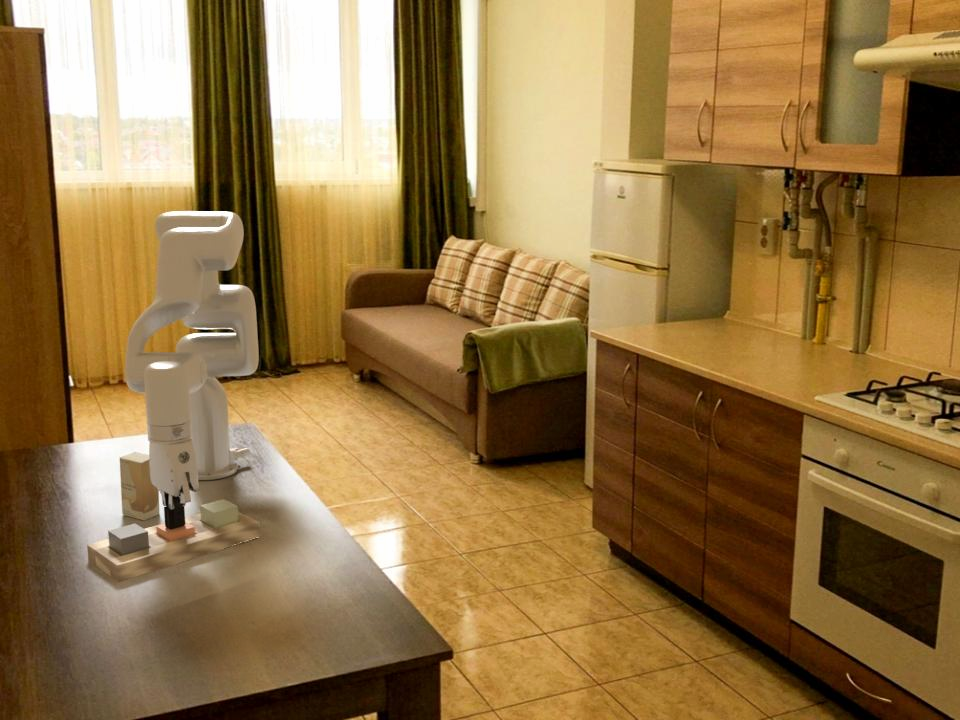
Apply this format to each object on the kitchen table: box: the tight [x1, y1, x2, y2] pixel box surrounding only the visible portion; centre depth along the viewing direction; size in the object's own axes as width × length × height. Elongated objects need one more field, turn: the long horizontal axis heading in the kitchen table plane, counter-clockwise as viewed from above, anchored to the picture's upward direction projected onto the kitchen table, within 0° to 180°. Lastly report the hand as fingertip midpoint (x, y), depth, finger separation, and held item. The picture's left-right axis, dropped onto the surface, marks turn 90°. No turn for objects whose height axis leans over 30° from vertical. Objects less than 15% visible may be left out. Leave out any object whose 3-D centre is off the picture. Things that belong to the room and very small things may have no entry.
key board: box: [86, 511, 261, 583], centre depth 187 cm, size 28×12×3 cm, turn 134°
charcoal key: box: [107, 523, 149, 556], centre depth 181 cm, size 5×5×4 cm
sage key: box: [199, 498, 239, 529], centre depth 193 cm, size 5×5×4 cm
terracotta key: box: [155, 522, 195, 542], centre depth 187 cm, size 5×5×4 cm
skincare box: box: [119, 451, 160, 521], centre depth 202 cm, size 6×4×12 cm
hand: (175, 526), depth 187 cm, fingers closed
